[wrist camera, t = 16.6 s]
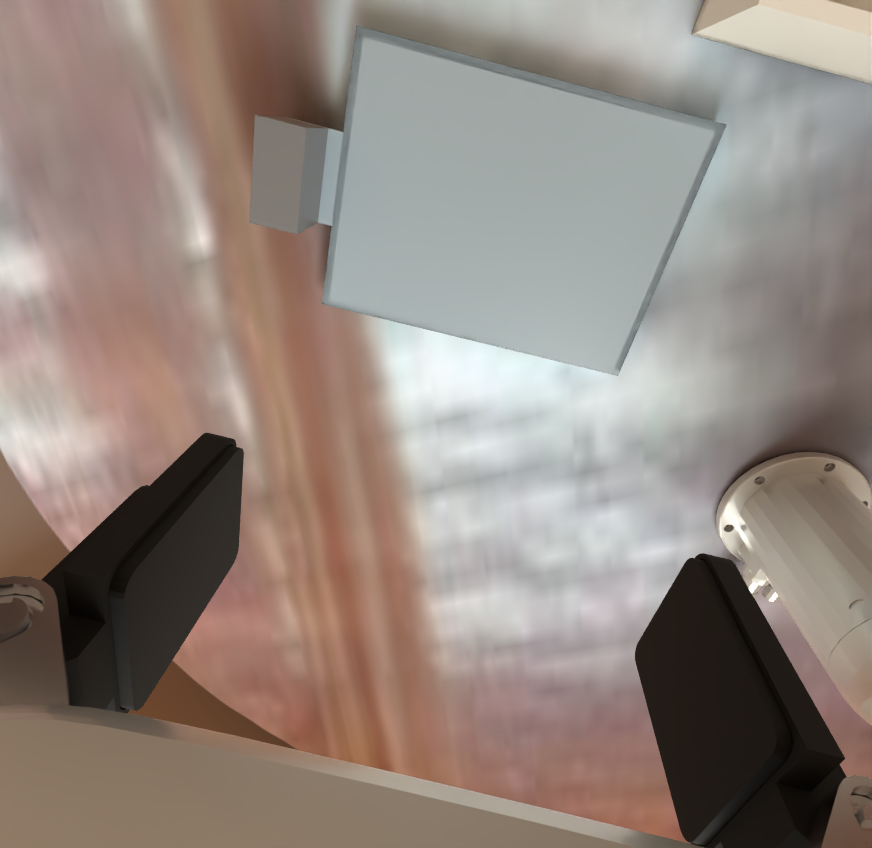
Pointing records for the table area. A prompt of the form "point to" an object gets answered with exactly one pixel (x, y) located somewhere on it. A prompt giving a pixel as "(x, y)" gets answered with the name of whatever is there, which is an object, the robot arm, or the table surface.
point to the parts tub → (796, 31)
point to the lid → (487, 199)
